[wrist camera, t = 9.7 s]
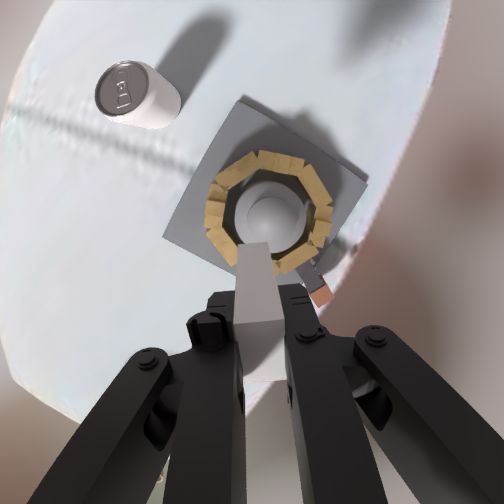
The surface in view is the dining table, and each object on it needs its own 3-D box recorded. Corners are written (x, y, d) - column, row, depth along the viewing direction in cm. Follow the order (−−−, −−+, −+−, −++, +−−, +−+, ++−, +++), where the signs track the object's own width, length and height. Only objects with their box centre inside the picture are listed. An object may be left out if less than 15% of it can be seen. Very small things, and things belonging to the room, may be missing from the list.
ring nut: (187, 196, 33) (179, 203, 28) (282, 131, 30) (289, 128, 26) (278, 316, 39) (283, 335, 35) (361, 264, 37) (374, 278, 32)
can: (178, 77, 29) (149, 47, 18) (185, 122, 31) (158, 108, 20) (132, 91, 29) (88, 72, 18) (139, 135, 31) (94, 131, 20)
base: (237, 102, 30) (236, 88, 23) (364, 183, 35) (393, 193, 27) (164, 234, 36) (146, 255, 29) (287, 298, 40) (296, 330, 33)
